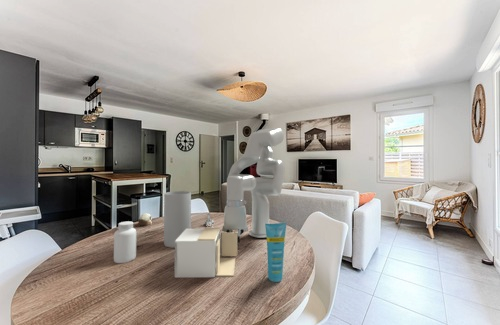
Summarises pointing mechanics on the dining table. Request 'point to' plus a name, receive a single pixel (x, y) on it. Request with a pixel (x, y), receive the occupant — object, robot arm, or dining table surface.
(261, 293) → the dining table surface
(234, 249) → the door
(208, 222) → the house of cards
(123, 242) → the pill bottle
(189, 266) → the carton
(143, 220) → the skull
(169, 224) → the cylinder vase
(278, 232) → the tube
